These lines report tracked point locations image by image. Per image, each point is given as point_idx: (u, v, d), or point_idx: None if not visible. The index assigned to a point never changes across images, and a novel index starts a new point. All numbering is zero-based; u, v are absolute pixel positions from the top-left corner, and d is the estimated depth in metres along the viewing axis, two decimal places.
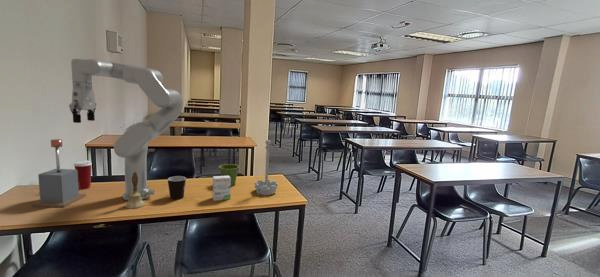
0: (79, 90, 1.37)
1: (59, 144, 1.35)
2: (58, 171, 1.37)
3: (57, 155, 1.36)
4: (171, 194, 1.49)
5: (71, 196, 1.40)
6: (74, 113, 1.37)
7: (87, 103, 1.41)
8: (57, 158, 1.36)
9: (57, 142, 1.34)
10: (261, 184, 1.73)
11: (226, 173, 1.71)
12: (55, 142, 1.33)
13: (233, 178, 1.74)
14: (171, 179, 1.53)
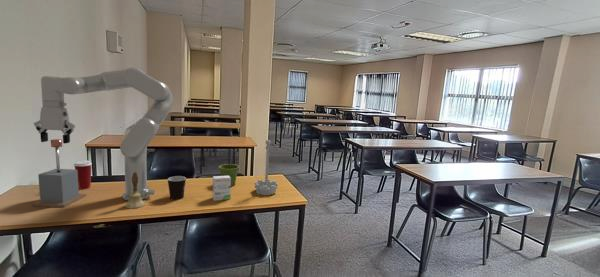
0: (66, 109, 1.34)
1: (59, 144, 1.35)
2: (58, 171, 1.37)
3: (57, 155, 1.36)
4: (171, 194, 1.49)
5: (71, 196, 1.40)
6: (69, 133, 1.34)
7: None
8: (57, 158, 1.36)
9: (57, 142, 1.34)
10: (261, 184, 1.73)
11: (226, 173, 1.71)
12: (55, 142, 1.33)
13: (233, 178, 1.74)
14: (171, 179, 1.53)
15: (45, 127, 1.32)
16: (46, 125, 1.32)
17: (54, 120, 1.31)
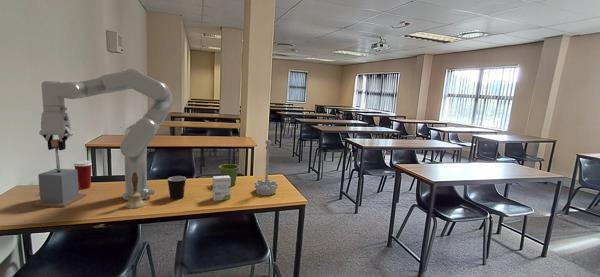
0: (66, 114, 1.35)
1: None
2: (58, 171, 1.37)
3: (57, 155, 1.36)
4: (171, 194, 1.49)
5: (71, 196, 1.40)
6: (64, 140, 1.35)
7: None
8: (57, 158, 1.36)
9: (57, 142, 1.34)
10: (261, 184, 1.73)
11: (226, 173, 1.71)
12: (55, 142, 1.33)
13: (233, 178, 1.74)
14: (171, 179, 1.53)
15: (46, 132, 1.32)
16: (47, 130, 1.32)
17: (55, 125, 1.32)
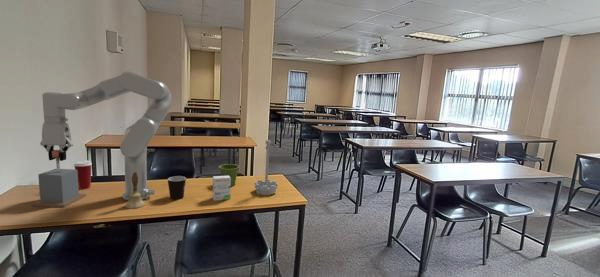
0: (67, 124, 1.35)
1: None
2: None
3: (58, 165, 1.36)
4: (171, 194, 1.49)
5: (71, 196, 1.40)
6: (65, 151, 1.36)
7: None
8: (58, 168, 1.37)
9: (58, 153, 1.35)
10: (261, 184, 1.73)
11: (226, 173, 1.71)
12: (56, 153, 1.34)
13: (233, 178, 1.74)
14: (171, 179, 1.53)
15: (47, 143, 1.33)
16: (48, 141, 1.33)
17: (55, 136, 1.32)
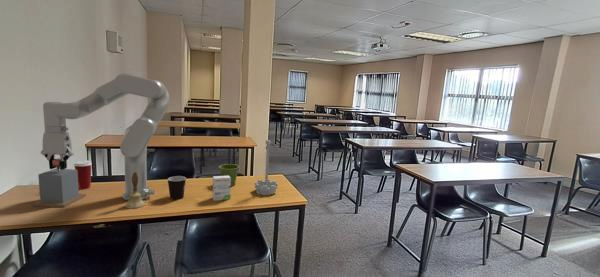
0: (67, 133, 1.36)
1: None
2: None
3: None
4: (171, 194, 1.49)
5: (71, 196, 1.40)
6: (65, 159, 1.36)
7: None
8: None
9: (58, 162, 1.35)
10: (261, 184, 1.73)
11: (226, 173, 1.71)
12: (56, 162, 1.35)
13: (233, 178, 1.74)
14: (171, 179, 1.53)
15: (48, 152, 1.34)
16: (49, 150, 1.33)
17: (56, 145, 1.33)
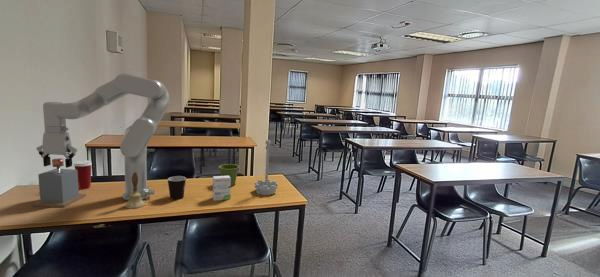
0: (67, 134, 1.36)
1: (60, 163, 1.36)
2: None
3: None
4: (171, 194, 1.49)
5: (71, 196, 1.40)
6: (71, 157, 1.36)
7: None
8: None
9: (58, 162, 1.35)
10: (261, 184, 1.73)
11: (226, 173, 1.71)
12: (56, 162, 1.35)
13: (233, 178, 1.74)
14: (171, 179, 1.53)
15: (48, 152, 1.34)
16: (49, 150, 1.33)
17: (56, 145, 1.33)
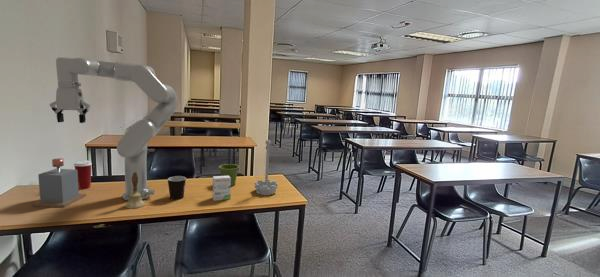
0: (80, 90, 1.39)
1: (60, 163, 1.36)
2: None
3: None
4: (171, 194, 1.49)
5: (71, 196, 1.40)
6: (84, 113, 1.39)
7: None
8: None
9: (58, 162, 1.35)
10: (261, 184, 1.73)
11: (226, 173, 1.71)
12: (56, 162, 1.35)
13: (233, 178, 1.74)
14: (171, 179, 1.53)
15: (61, 107, 1.36)
16: (62, 105, 1.36)
17: (70, 101, 1.36)
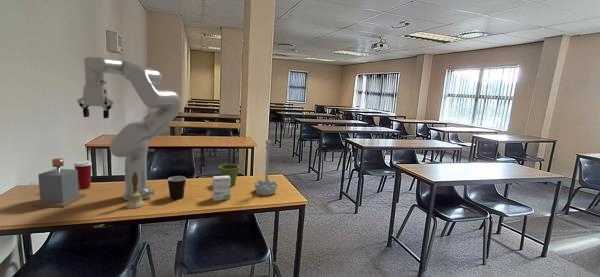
0: (105, 87, 1.49)
1: (60, 163, 1.36)
2: None
3: None
4: (171, 194, 1.49)
5: (71, 196, 1.40)
6: (108, 109, 1.49)
7: None
8: None
9: (58, 162, 1.35)
10: (261, 184, 1.73)
11: (226, 173, 1.71)
12: (56, 162, 1.35)
13: (233, 178, 1.74)
14: (171, 179, 1.53)
15: (87, 103, 1.46)
16: (88, 101, 1.46)
17: (95, 97, 1.46)
